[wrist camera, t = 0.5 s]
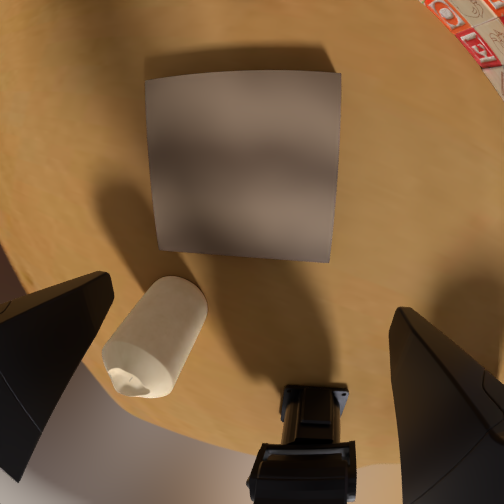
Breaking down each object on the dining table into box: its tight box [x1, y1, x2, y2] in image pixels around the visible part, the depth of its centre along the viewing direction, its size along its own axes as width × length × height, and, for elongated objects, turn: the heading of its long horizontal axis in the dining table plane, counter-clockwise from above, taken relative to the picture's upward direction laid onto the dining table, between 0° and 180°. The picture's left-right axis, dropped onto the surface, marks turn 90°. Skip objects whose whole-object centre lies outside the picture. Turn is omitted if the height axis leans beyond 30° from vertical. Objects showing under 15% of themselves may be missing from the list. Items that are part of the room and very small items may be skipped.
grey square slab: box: [145, 70, 341, 263], centre depth 19 cm, size 12×12×2 cm
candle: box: [102, 276, 208, 398], centre depth 22 cm, size 6×6×10 cm
